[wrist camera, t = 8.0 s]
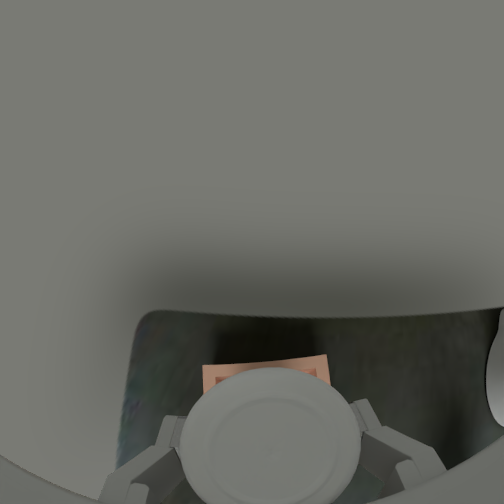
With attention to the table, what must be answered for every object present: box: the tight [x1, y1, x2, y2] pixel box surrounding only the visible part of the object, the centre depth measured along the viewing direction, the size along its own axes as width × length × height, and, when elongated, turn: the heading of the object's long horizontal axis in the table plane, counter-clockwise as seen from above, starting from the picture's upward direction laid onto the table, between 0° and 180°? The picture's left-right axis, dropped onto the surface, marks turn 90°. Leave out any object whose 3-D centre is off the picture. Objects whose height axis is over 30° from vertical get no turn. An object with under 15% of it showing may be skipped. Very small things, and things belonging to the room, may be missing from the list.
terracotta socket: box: [203, 355, 331, 394], centre depth 20 cm, size 10×10×4 cm
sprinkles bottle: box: [180, 367, 361, 504], centre depth 11 cm, size 5×5×14 cm
